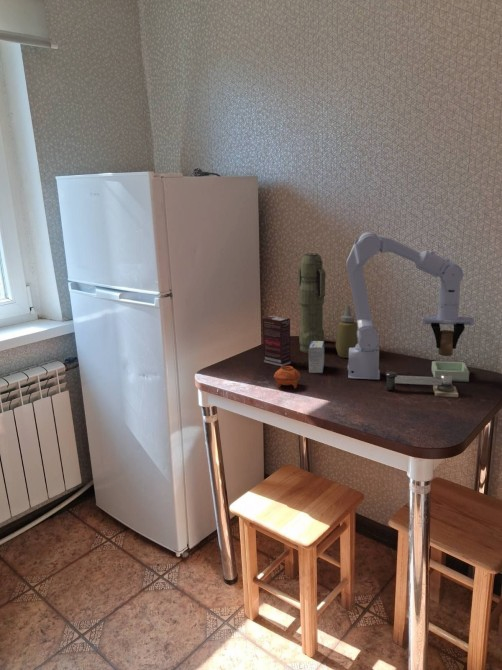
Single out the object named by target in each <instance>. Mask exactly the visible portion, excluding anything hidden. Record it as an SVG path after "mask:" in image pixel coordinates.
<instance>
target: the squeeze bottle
mask: <svg viewBox="0 0 502 670" xmlns="http://www.w3.org/2000/svg"><path fill="white" fill-rule="evenodd" d="M357 330H358V323H357V322H356V321H355V316H354V315H353V314H352V312H351V306H350V305H348V304H347V305H345V309H344V313H343V315H341V316H340V321H339V322H338V323H337V331H336V339H335V348H336V352H337V355H338V356H339V357H340V358H344V359H345V358H346V359H349V348H354V347H355V346H356V345H357V343H358V337H357Z"/></svg>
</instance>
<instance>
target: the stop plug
mask: <svg viewBox="0 0 502 670" xmlns="http://www.w3.org/2000/svg"><path fill="white" fill-rule="evenodd" d="M453 340H454V330H451V329H450V330H449V329H443V330H441V329H440V347H439V348H438V355H439V356H442V357H443V356H444V357H451V356H453V355H454V354H453V352H454V351H453V350H454V349H453Z"/></svg>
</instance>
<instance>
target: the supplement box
mask: <svg viewBox="0 0 502 670" xmlns="http://www.w3.org/2000/svg"><path fill="white" fill-rule="evenodd" d="M262 338H263V339H262V340H263V343H262V344H263V345H262V346H263V362H264V363H267V364H269V365H273V366H278V367H283V366H289V365H290V364H291V358H292V357H291V319H290V318H289V317H283V316H277V315H272V314H271V315H267V316H263V317H262Z"/></svg>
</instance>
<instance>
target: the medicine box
mask: <svg viewBox="0 0 502 670" xmlns="http://www.w3.org/2000/svg"><path fill="white" fill-rule="evenodd" d="M324 368H325V340H324V341H311V344H310V347H309V353H308V372H309V373H311V374H323V373H324Z"/></svg>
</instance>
